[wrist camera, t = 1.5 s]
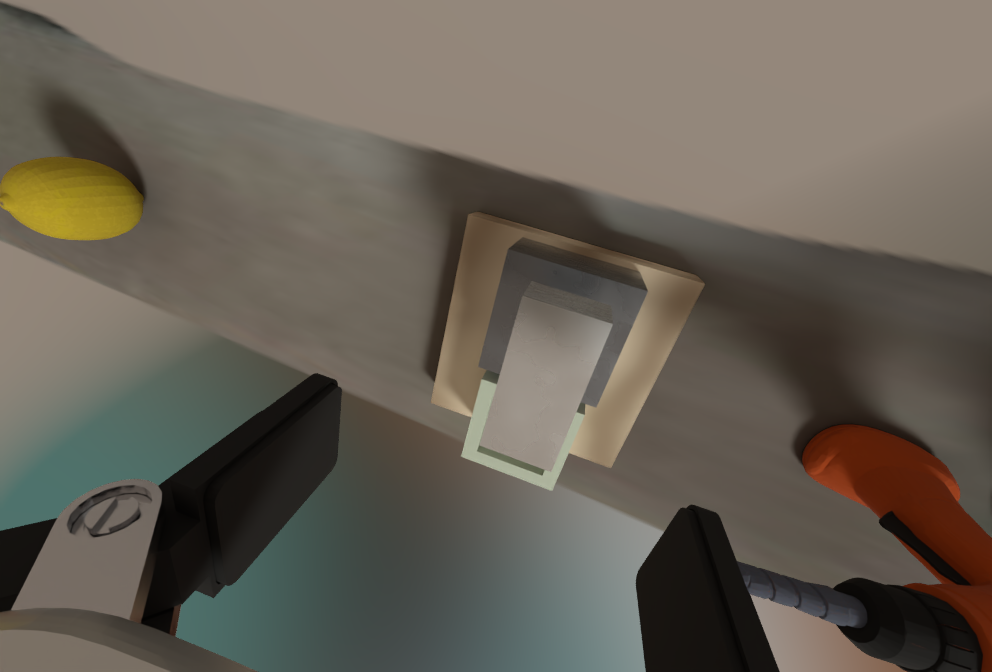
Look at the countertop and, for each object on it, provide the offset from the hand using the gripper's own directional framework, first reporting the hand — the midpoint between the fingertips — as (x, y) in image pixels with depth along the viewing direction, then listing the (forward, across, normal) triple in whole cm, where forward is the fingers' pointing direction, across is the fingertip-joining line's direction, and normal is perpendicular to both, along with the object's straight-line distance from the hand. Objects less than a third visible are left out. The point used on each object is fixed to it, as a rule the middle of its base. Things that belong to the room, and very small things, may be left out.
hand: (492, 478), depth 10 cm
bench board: (+17, -1, +3) cm, 17 cm away
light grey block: (+15, -1, 0) cm, 15 cm away
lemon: (+18, +34, +2) cm, 38 cm away
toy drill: (+17, -18, +4) cm, 25 cm away
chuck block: (+15, -1, 0) cm, 15 cm away
